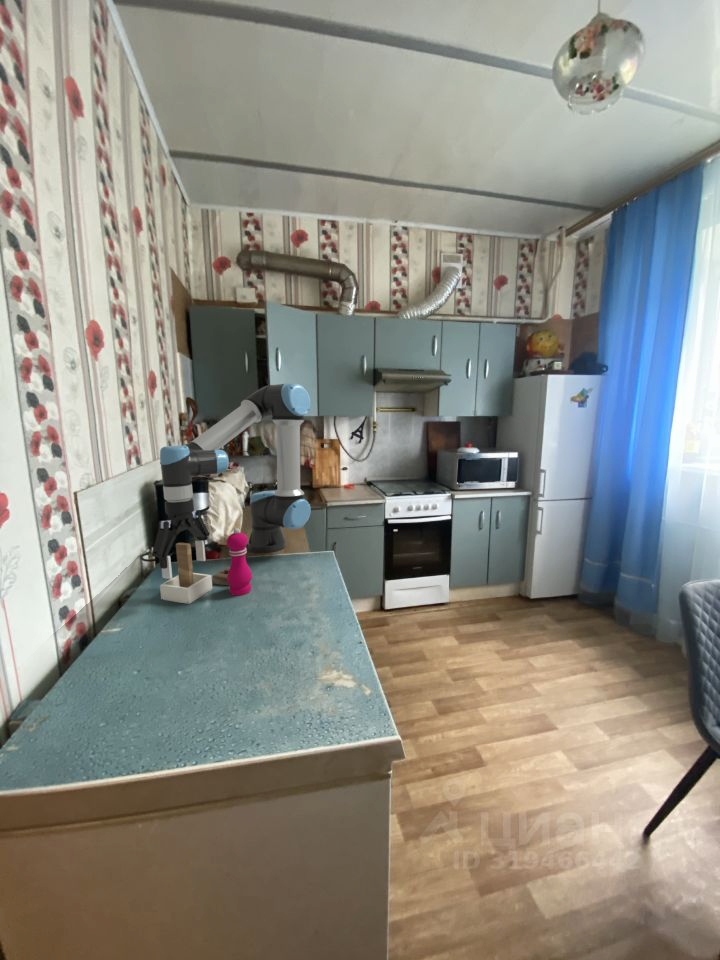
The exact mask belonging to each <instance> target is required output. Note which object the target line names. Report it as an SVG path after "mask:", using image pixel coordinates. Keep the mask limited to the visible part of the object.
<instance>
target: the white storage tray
mask: <svg viewBox="0 0 720 960" xmlns="http://www.w3.org/2000/svg"><path fill="white" fill-rule="evenodd" d="M193 579H194V584H193V585H191V586H190V587H188V588H186V587H180V585H179V574H177V575H176V576H174V577H172V578H171V579H168V580H166V581H165V582H163V583H161V584H159V590H160V591H159V592H160V600H162V599H163V601H169V602H175V603H182V604H187V605H191V603H193V602H195V601H197V599H200V598H201V597H202V596H204V595H205V594H207V593H209V592H210V591H211V590H213V575H212V574H205V573H197V572H193Z"/></svg>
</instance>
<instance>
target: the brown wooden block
mask: <svg viewBox="0 0 720 960" xmlns="http://www.w3.org/2000/svg"><path fill="white" fill-rule="evenodd" d="M175 550H176V551H175V553H176V561H177V573H178V574H177V575H179V585H180V587H186V588H188V587H190V586H191V585H193V584H194V579H193V573H194V569H193V559H192V558H193V557H192V547H191V543H188V542H187V543H186V542H177V543H175Z"/></svg>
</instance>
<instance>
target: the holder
mask: <svg viewBox="0 0 720 960" xmlns="http://www.w3.org/2000/svg"><path fill="white" fill-rule="evenodd" d="M229 569H230V567H225V568H223V569H222V570H220V571H218V572H216V573H215V574H213V575H212V584H216V583H217V584H216V585H225V586H229V587H230V586H231V585H230V584H229V583H228V581H227V576H228V572H229Z"/></svg>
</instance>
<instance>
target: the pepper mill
mask: <svg viewBox="0 0 720 960" xmlns="http://www.w3.org/2000/svg"><path fill="white" fill-rule="evenodd" d="M248 542H249V540H248V537H247V535H246V534H245V533H243V532H241V531H240V529H239V528H238V527H235V528H234V529H233V533H232V534H230V535H229V536H228V537H227V539H226V546H227V548H229V550H228V553H229V554H228V555H229V556H230V558H231V561H230V566H229V568H230V569H229V572H228V576H227V581H228V583H229V584H230V585H231V586H230V585H229V593H230V595H232V596H235V597H236V596H243V595H247V594H249V593H250V592H251V591H252V585H251V583H250V582H252V580H253V575H252V569H250V567H249V565H248V562H247V559H246V554H247V552H248V551H247V546H248Z"/></svg>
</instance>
